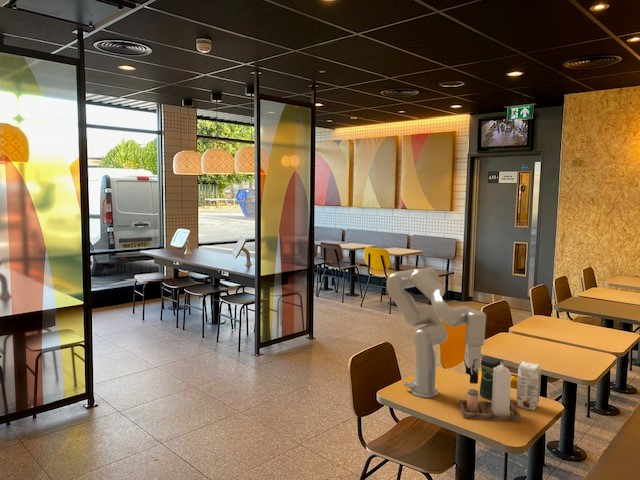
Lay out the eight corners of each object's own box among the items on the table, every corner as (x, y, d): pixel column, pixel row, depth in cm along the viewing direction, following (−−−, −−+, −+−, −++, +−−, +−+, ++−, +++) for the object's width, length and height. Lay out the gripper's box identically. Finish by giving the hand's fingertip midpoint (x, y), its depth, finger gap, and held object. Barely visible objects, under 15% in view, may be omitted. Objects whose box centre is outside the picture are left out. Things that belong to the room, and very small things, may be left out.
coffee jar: (504, 397, 220) (506, 358, 218) (496, 402, 214) (498, 362, 212) (485, 391, 227) (486, 353, 225) (476, 395, 221) (478, 356, 219)
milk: (505, 411, 206) (508, 361, 204) (509, 417, 200) (512, 366, 198) (491, 409, 207) (493, 360, 205) (494, 416, 201) (496, 365, 199)
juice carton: (535, 412, 205) (538, 369, 203) (515, 406, 210) (517, 364, 208) (540, 405, 211) (542, 364, 209) (519, 400, 216) (521, 360, 214)
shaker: (467, 413, 203) (468, 392, 202) (465, 408, 208) (466, 388, 207) (478, 414, 203) (479, 393, 202) (476, 409, 207) (477, 389, 206)
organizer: (463, 418, 199) (463, 413, 199) (458, 404, 212) (458, 399, 212) (521, 422, 196) (521, 417, 196) (512, 407, 209) (512, 403, 209)
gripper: (462, 332, 211) (459, 369, 213) (469, 346, 194) (465, 386, 196) (479, 334, 210) (476, 371, 212) (488, 347, 193) (484, 388, 195)
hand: (471, 378), depth 204 cm, fingers open, 9 cm apart
